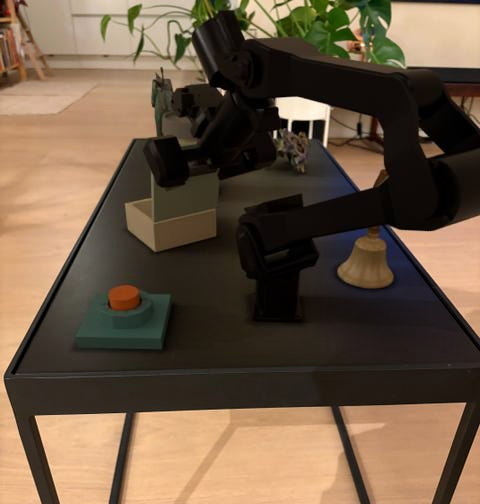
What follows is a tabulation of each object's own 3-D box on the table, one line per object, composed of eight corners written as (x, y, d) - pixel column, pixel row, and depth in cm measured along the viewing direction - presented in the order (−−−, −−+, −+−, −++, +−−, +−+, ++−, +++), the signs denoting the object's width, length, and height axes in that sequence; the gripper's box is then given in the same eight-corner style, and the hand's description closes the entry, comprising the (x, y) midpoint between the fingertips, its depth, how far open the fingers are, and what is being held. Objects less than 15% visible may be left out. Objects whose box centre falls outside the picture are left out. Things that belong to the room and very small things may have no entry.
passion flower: (298, 195, 121) (309, 163, 110) (253, 184, 121) (260, 150, 110) (306, 157, 125) (318, 122, 114) (262, 146, 125) (270, 110, 114)
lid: (150, 148, 73) (167, 162, 70) (219, 138, 78) (237, 150, 75) (151, 220, 80) (167, 235, 77) (215, 206, 86) (231, 219, 83)
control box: (161, 349, 61) (160, 325, 59) (77, 348, 61) (73, 323, 59) (171, 305, 70) (170, 282, 68) (97, 303, 70) (94, 280, 68)
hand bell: (384, 262, 81) (404, 161, 72) (400, 289, 74) (424, 180, 66) (332, 262, 81) (346, 160, 72) (343, 289, 74) (359, 180, 65)
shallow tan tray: (127, 229, 90) (124, 203, 87) (185, 216, 96) (184, 190, 93) (155, 252, 83) (153, 224, 80) (216, 236, 88) (216, 209, 86)
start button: (137, 312, 62) (135, 300, 61) (107, 312, 62) (105, 299, 61) (142, 297, 65) (141, 285, 64) (113, 296, 65) (112, 284, 64)
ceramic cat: (154, 148, 132) (148, 61, 121) (179, 148, 133) (175, 61, 122) (158, 173, 116) (151, 75, 105) (186, 172, 117) (183, 75, 106)
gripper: (270, 59, 69) (224, 127, 83) (142, 69, 60) (115, 143, 74) (303, 133, 68) (251, 190, 82) (178, 154, 59) (144, 213, 73)
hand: (193, 182), depth 77 cm, fingers open, 9 cm apart
